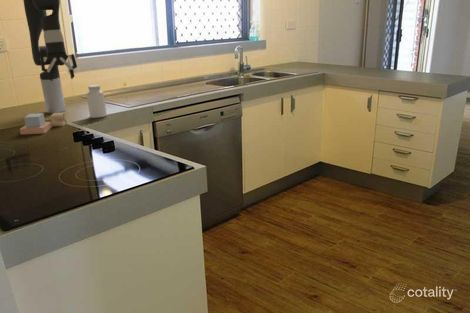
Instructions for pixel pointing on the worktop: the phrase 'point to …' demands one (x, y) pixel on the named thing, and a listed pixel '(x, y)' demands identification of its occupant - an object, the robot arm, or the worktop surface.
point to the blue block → (34, 120)
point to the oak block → (58, 119)
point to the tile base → (36, 129)
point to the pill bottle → (96, 102)
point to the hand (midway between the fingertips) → (61, 79)
